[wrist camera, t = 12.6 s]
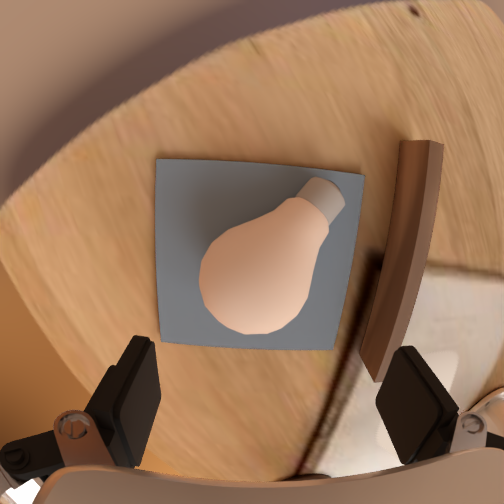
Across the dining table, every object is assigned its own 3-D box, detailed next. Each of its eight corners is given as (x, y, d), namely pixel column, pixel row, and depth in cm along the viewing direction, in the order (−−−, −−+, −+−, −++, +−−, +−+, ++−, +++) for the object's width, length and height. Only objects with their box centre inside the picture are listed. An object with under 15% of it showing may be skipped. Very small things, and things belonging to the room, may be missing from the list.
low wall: (413, 144, 19) (443, 144, 15) (370, 353, 24) (387, 381, 21) (400, 141, 19) (429, 140, 15) (359, 353, 24) (374, 382, 21)
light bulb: (335, 141, 14) (184, 314, 13) (394, 227, 17) (276, 374, 16) (278, 149, 20) (169, 272, 19) (332, 213, 23) (238, 324, 22)
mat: (361, 174, 20) (364, 175, 19) (331, 345, 24) (332, 349, 23) (159, 159, 19) (156, 159, 18) (162, 337, 23) (161, 341, 23)
